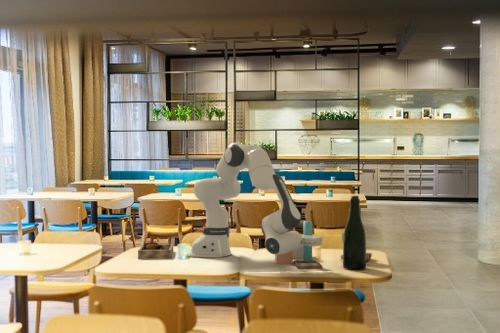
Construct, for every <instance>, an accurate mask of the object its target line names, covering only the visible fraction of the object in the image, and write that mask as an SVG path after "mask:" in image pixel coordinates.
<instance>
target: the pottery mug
mask: <svg viewBox="0 0 500 333" xmlns="http://www.w3.org/2000/svg"><path fill="white" fill-rule="evenodd" d="M158 244H159V243H158V242H156V241H147V242H145V243H143V246H144V247H143V248H142V250H160V248H161V250H164V246H163V245H158Z"/></svg>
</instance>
